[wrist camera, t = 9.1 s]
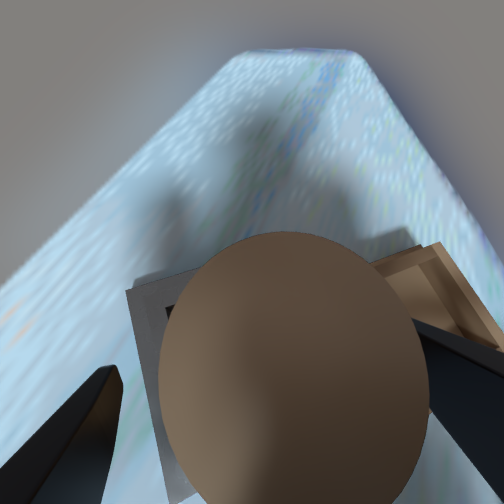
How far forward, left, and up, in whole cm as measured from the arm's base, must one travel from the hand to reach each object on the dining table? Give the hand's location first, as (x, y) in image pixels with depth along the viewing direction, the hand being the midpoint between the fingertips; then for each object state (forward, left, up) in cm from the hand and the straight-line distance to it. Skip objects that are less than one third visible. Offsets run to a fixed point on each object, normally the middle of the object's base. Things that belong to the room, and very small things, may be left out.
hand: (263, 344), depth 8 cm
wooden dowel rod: (0, 0, -8) cm, 8 cm away
